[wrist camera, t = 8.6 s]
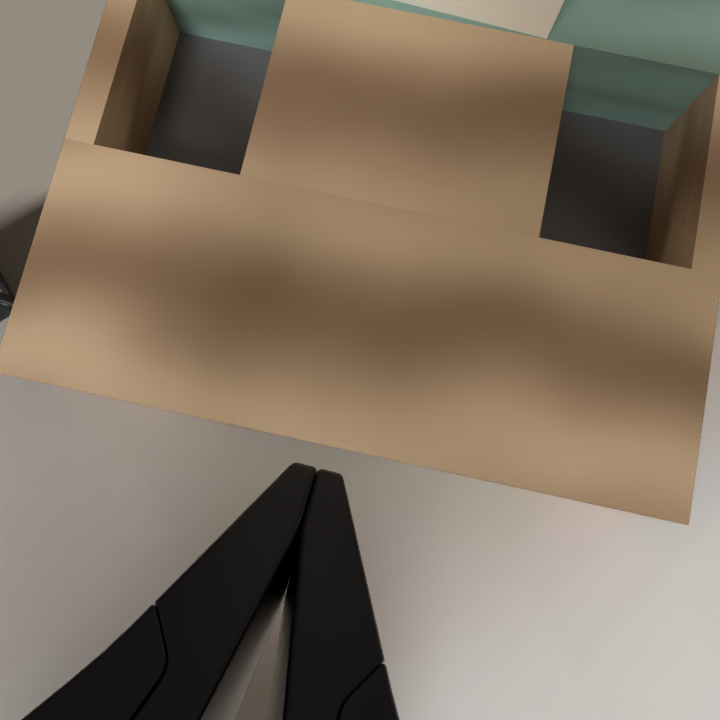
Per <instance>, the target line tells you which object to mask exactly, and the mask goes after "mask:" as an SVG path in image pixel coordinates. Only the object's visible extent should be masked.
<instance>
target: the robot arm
mask: <svg viewBox="0 0 720 720" xmlns="http://www.w3.org/2000/svg"><path fill="white" fill-rule="evenodd" d="M316 473H317V474H316ZM288 582H289V583H288ZM287 585H288V587H287ZM286 589H287V591H286ZM285 592H286V596H285V601H284V607H283V613H282V620H281V627H280V634H279V641H278V648H277V655H276V662H275V669H274V676H273V683H272V690H271V697H270V704H269V711H268V718H267V720H399V716H398V712H397V708H396V704H395V701H394V697H393V693H392V689H391V685H390V680H389V676H388V672H387V667H386V665H385V664H383V663H384V655H383V651H382V646H381V642H380V638H379V633H378V629H377V624H376V620H375V616H374V611H373V607H372V602H371V598H370V594H369V589H368V585H367V581H366V576H365V572H364V567H363V563H362V559H361V554H360V550H359V545H358V541H357V537H356V532H355V528H354V524H353V519H352V515H351V510H350V506H349V502H348V497H347V493H346V488H345V484H344V480H343V477H342V475H341V474H339V473H335V472H331V471H327V470H323V469H320V470H318V471H316V469H315V468H314V467H312V466H308V465H304V464H300V463H293V464H291V465H290V466H289V467H288V468H287V469H286V470H285V471H284V472H283V473H282V474H281V475H280V476H279V477H278V478H277V479H276V480H275V481H274V482H273V483H272V484H271V485H270V486H269V487H268V488H267V489H266V490H265V491H264V492H263V493H262V494H261V495H260V496H259V497H258V498H257V499H256V500H255V501H254V502H253V503H252V504H251V505H250V506H249V507H248V508H247V509H246V510H245V511H244V512H243V513H242V514H241V515H240V516H239V517H238V518H237V519H236V520H235V521H234V522H233V523H232V525H231V526H230V527H229V528H228V529H227V530H226V531H225V532H224V533H223V534H222V535H221V536H220V537H219V538H218V539H217V540H216V541H215V542H214V543H213V544H212V545H211V546H210V547H209V548H208V549H207V550H206V551H205V552H204V553H203V554H202V555H201V556H200V557H199V558H198V559H197V560H196V561H195V562H194V563H193V564H192V565H191V566H190V567H189V568H188V569H187V570H186V571H185V572H184V573H183V574H182V575H181V576H180V577H179V578H178V579H177V580H176V581H175V582H174V583H173V584H172V585H171V586H170V587H169V588H168V589H167V590H166V591H165V592H164V593H163V594H162V595H161V596H160V597H159V598H158V599H157V600H156V601H155V605H151V606H150V607H149V608H148V609H147V610H146V611H145V612H144V613H143V614H142V615H141V616H140V617H139V618H138V619H137V620H136V621H135V622H134V623H133V624H132V625H131V626H130V627H129V628H128V629H127V630H126V631H125V632H124V633H123V634H121V635H120V636H119V637H118V638H117V639H116V640H115V641H114V642H113V643H112V644H111V645H110V646H109V647H108V648H107V649H106V650H105V651H104V652H102V653H101V654H100V655H99V656H98V657H97V658H95V659H94V660H93V661H92V662H91V663H89V664H88V665H87V666H86V667H85V668H84V669H82V670H81V671H80V672H79V673H78V674H77V675H75V676H74V677H73V678H72V679H71V680H69V681H68V682H67V683H66V684H65V685H63V686H62V687H61V688H60V689H58V690H57V691H56V692H55V693H53V694H52V695H51V696H50V697H49V698H47V699H46V700H45V701H44V702H42V703H41V704H40V705H39V706H37V707H36V708H35V709H34V710H33V711H31V712H30V713H29V714H28V715H26V716H25V717H24V718H23V719H21V720H235V718H236V716H237V713H238V711H239V708H240V706H241V703H242V701H243V698H244V696H245V693H246V691H247V689H248V686H249V684H250V681H251V679H252V676H253V674H254V671H255V669H256V666H257V664H258V661H259V659H260V656H261V654H262V651H263V649H264V646H265V644H266V642H267V639H268V637H269V634H270V632H271V629H272V627H273V624H274V622H275V619H276V617H277V614H278V612H279V609H280V607H281V604H282V601H283V598H284V595H285Z"/></svg>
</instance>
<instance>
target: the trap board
mask: <svg viewBox="0 0 720 720" xmlns="http://www.w3.org/2000/svg"><path fill="white" fill-rule="evenodd" d="M719 297H720V0H564V3H563V5H562V7H561V9H560V11H559V13H558V16H557V18H556V20H555V22H554V24H553V26H552V29H551V31H550V33H549V35H548V37H547V39H545V38H541V37H537V36H533V35H529V34H525V33H521V32H517V31H513V30H509V29H505V28H502V27H498V26H494V25H490V24H486V23H482V22H478V21H474V20H470V19H466V18H462V17H458V16H454V15H450V14H446V13H442V12H438V11H434V10H430V9H426V8H422V7H418V6H414V5H410V4H406V3H402V2H398V1H394V0H107V2H106V5H105V8H104V12H103V15H102V18H101V21H100V25H99V28H98V31H97V34H96V38H95V41H94V44H93V47H92V51H91V54H90V57H89V60H88V64H87V67H86V70H85V74H84V76H83V80H82V83H81V86H80V90H79V93H78V96H77V99H76V103H75V106H74V109H73V112H72V116H71V119H70V122H69V125H68V129H67V132H66V135H65V138H64V142H63V145H62V148H61V151H60V155H59V158H58V161H57V164H56V168H55V170H54V174H53V177H52V180H51V183H50V187H49V190H48V193H47V196H46V200H45V203H44V206H43V209H42V213H41V216H40V219H39V222H38V226H37V229H36V232H35V235H34V239H33V242H32V245H31V248H30V252H29V255H28V258H27V261H26V264H25V268H24V271H23V274H22V277H21V281H20V284H19V287H18V290H17V294H16V297H15V300H14V303H13V307H12V310H11V313H10V316H9V320H8V323H7V326H6V329H5V333H4V336H3V339H2V342H1V346H0V374H4V375H9V376H13V377H18V378H22V379H27V380H32V381H36V382H41V383H45V384H50V385H54V386H59V387H63V388H68V389H72V390H77V391H81V392H86V393H91V394H95V395H100V396H104V397H109V398H113V399H118V400H122V401H127V402H131V403H136V404H140V405H145V406H150V407H154V408H159V409H163V410H168V411H172V412H177V413H181V414H186V415H190V416H195V417H199V418H204V419H209V420H213V421H218V422H222V423H227V424H231V425H236V426H240V427H245V428H249V429H254V430H258V431H263V432H268V433H272V434H277V435H281V436H286V437H290V438H295V439H299V440H304V441H308V442H313V443H317V444H322V445H327V446H331V447H336V448H340V449H345V450H349V451H354V452H358V453H363V454H367V455H372V456H377V457H381V458H386V459H390V460H395V461H399V462H404V463H408V464H413V465H417V466H422V467H426V468H431V469H436V470H440V471H445V472H449V473H454V474H458V475H463V476H467V477H472V478H476V479H481V480H485V481H490V482H495V483H499V484H504V485H508V486H513V487H517V488H522V489H526V490H531V491H535V492H540V493H544V494H549V495H554V496H558V497H563V498H567V499H572V500H576V501H581V502H585V503H590V504H594V505H599V506H603V507H608V508H613V509H617V510H622V511H626V512H631V513H635V514H640V515H644V516H649V517H653V518H658V519H662V520H667V521H672V522H676V523H681V524H685V525H689V519H690V512H691V504H692V497H693V490H694V482H695V475H696V467H697V460H698V452H699V445H700V438H701V430H702V423H703V415H704V408H705V401H706V393H707V386H708V378H709V371H710V363H711V356H712V349H713V341H714V334H715V326H716V319H717V312H718V304H719Z"/></svg>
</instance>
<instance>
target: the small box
mask: <svg viewBox="0 0 720 720" xmlns="http://www.w3.org/2000/svg"><path fill="white" fill-rule="evenodd" d="M14 300H15V298H14V297H13V295H12V293H11V291H10V290H9V287H8V286H7V284H6V282H5V281H4V278H3V277H2V275H1V273H0V321H1V320H3V319H5V318H6V317H8V316H10V313H11V310H12V307H13V303H14Z"/></svg>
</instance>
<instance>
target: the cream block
mask: <svg viewBox="0 0 720 720" xmlns="http://www.w3.org/2000/svg"><path fill="white" fill-rule="evenodd" d="M394 1H398V2H402V3H406V4H410V5H414V6H418V7H422V8H426V9H430V10H434V11H438V12H442V13H446V14H450V15H454V16H458V17H462V18H466V19H470V20H474V21H478V22H482V23H486V24H490V25H494V26H498V27H502V28H505V29H509V30H513V31H517V32H521V33H525V34H529V35H533V36H537V37H541V38H545V39H547V37H548V35H549V33H550V31H551V29H552V26H553V24H554V22H555V20H556V18H557V16H558V13H559V11H560V9H561V7H562V5H563V3H564V0H394Z"/></svg>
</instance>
